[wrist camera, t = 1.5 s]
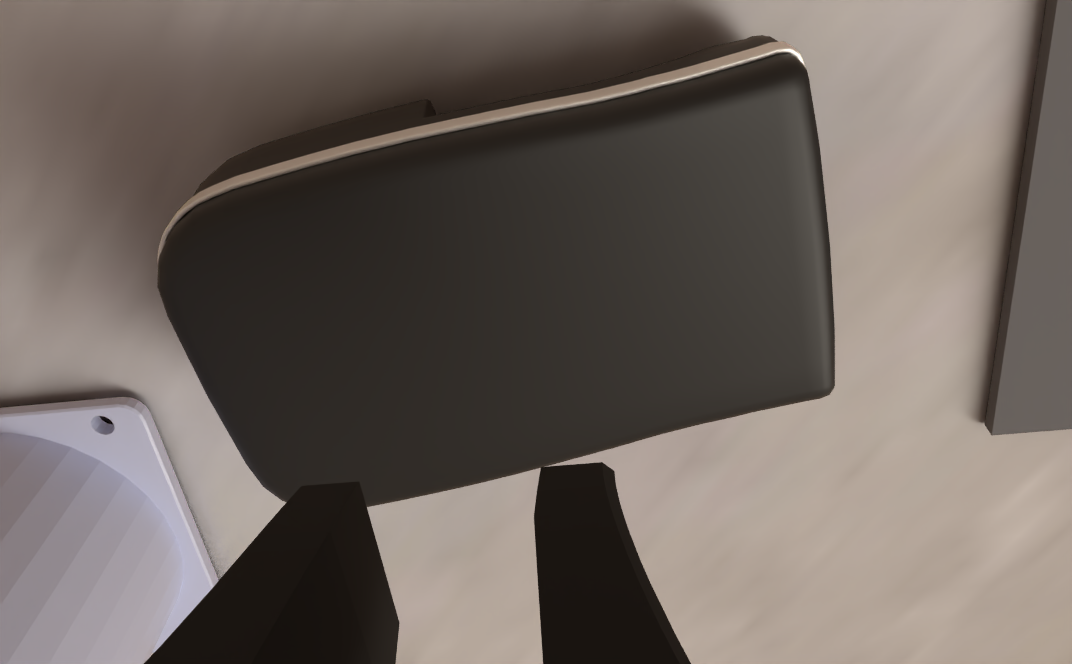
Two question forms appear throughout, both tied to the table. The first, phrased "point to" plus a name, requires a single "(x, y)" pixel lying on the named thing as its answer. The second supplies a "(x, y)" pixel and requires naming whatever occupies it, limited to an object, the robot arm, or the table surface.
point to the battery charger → (511, 276)
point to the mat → (1040, 255)
